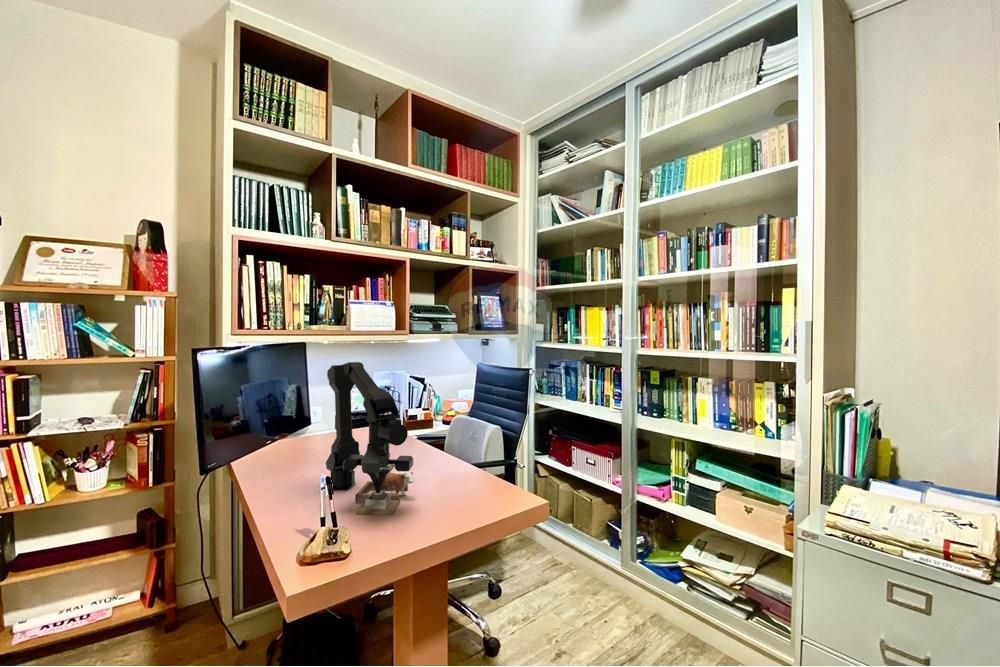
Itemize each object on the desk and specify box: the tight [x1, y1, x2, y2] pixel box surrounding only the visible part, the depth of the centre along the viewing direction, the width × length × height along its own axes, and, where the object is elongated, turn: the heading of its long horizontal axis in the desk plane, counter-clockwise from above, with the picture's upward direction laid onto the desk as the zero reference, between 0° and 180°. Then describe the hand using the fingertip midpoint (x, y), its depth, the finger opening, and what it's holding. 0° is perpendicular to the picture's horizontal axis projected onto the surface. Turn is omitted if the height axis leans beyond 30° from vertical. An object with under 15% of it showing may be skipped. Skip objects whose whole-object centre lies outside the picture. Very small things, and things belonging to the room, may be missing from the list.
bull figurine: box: [381, 471, 414, 497], centre depth 126 cm, size 4×13×8 cm, turn 75°
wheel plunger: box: [371, 490, 386, 500], centre depth 117 cm, size 4×4×3 cm
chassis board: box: [354, 480, 409, 516], centre depth 122 cm, size 13×18×4 cm
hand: (378, 492), depth 117 cm, fingers closed, pressing on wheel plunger
